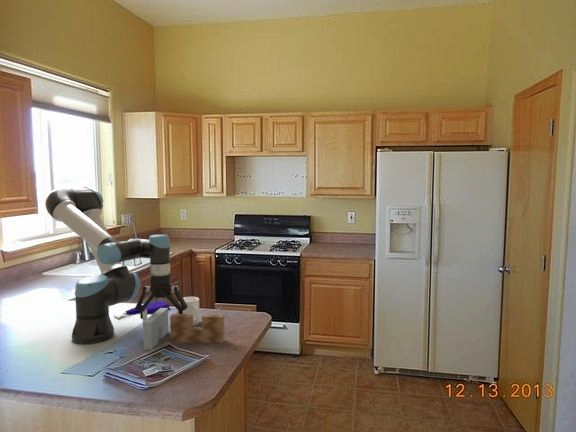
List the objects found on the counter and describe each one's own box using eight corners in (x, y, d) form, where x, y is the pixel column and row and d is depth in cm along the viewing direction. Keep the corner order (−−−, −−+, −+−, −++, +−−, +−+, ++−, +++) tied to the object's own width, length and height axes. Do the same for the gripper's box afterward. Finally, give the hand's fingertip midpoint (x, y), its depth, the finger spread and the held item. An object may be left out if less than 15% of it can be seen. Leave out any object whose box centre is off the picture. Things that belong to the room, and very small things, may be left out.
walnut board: (170, 342, 159) (170, 316, 158) (173, 339, 162) (172, 313, 161) (222, 343, 158) (222, 317, 157) (224, 340, 161) (224, 314, 160)
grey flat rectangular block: (143, 349, 152) (142, 322, 151) (161, 332, 169) (160, 307, 169) (151, 349, 151) (151, 322, 151) (168, 332, 169) (167, 308, 169)
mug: (188, 330, 172) (188, 304, 171) (175, 323, 181) (175, 298, 180) (207, 326, 177) (206, 301, 176) (193, 319, 186) (193, 295, 186)
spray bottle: (161, 300, 208) (110, 310, 192) (171, 304, 200) (119, 315, 184) (161, 305, 208) (111, 316, 192) (171, 310, 200) (119, 322, 184)
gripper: (125, 275, 161) (127, 329, 162) (189, 276, 160) (190, 330, 161) (133, 272, 169) (135, 323, 170) (194, 272, 167) (195, 324, 169)
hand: (162, 327), depth 166 cm, fingers open, 13 cm apart
